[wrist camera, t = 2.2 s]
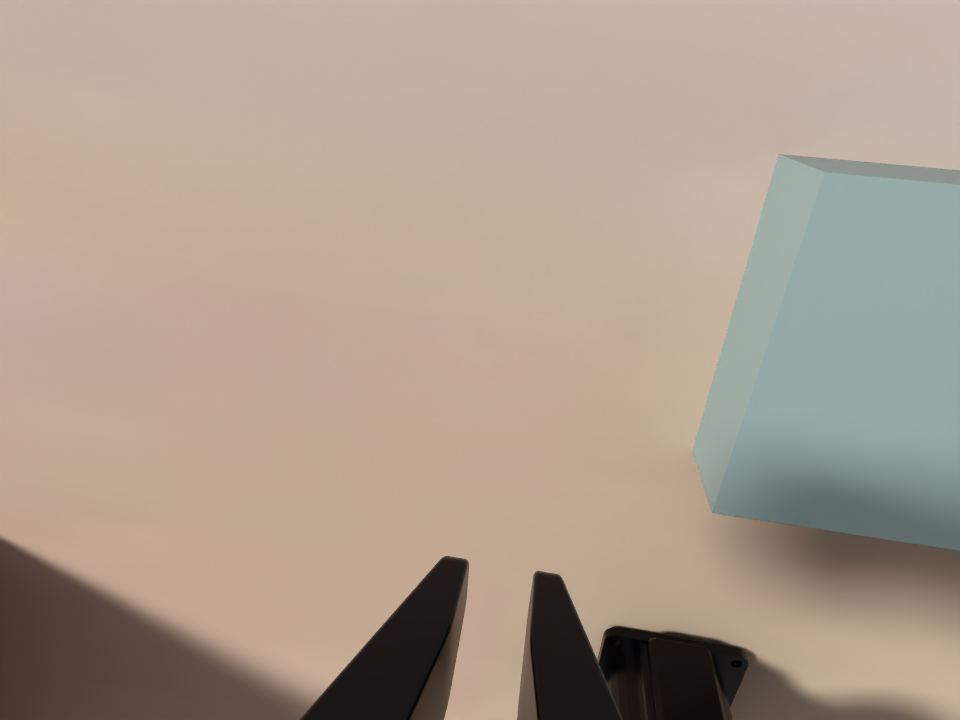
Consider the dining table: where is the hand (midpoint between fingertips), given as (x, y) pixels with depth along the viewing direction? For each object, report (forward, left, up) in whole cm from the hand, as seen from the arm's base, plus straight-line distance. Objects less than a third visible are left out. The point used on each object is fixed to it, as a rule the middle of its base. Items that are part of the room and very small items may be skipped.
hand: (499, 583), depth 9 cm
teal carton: (0, -11, -13) cm, 17 cm away
